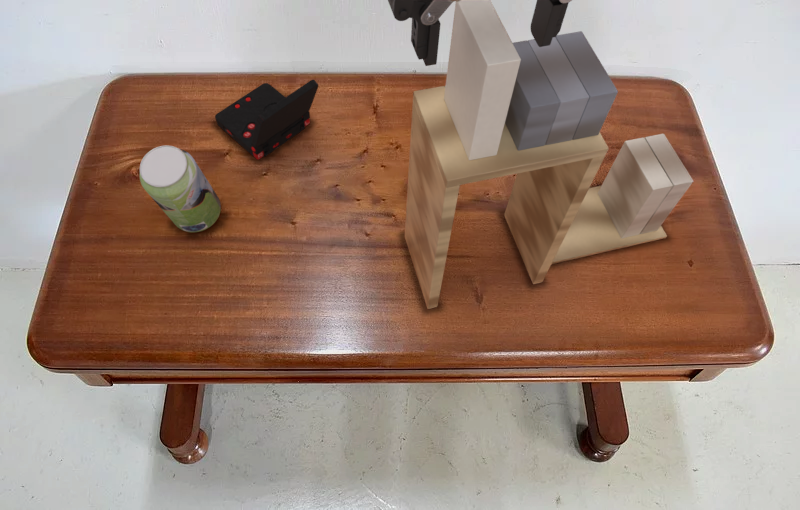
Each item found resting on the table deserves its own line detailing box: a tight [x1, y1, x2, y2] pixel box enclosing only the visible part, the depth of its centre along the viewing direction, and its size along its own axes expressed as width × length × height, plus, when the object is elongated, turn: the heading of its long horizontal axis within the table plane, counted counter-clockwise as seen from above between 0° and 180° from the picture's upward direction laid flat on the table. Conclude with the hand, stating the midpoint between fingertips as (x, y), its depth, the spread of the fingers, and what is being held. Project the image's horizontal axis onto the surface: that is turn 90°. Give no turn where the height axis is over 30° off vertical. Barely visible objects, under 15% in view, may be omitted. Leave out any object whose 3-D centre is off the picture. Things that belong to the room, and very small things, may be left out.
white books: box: [551, 133, 694, 265], centre depth 70 cm, size 9×16×10 cm, turn 105°
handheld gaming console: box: [214, 79, 319, 160], centre depth 77 cm, size 9×12×10 cm
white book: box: [444, 0, 521, 160], centre depth 46 cm, size 7×2×10 cm, turn 15°
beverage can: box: [139, 144, 222, 233], centre depth 69 cm, size 6×7×12 cm
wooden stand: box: [404, 30, 619, 310], centre depth 59 cm, size 10×14×29 cm
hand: (484, 48), depth 43 cm, fingers open, 8 cm apart
